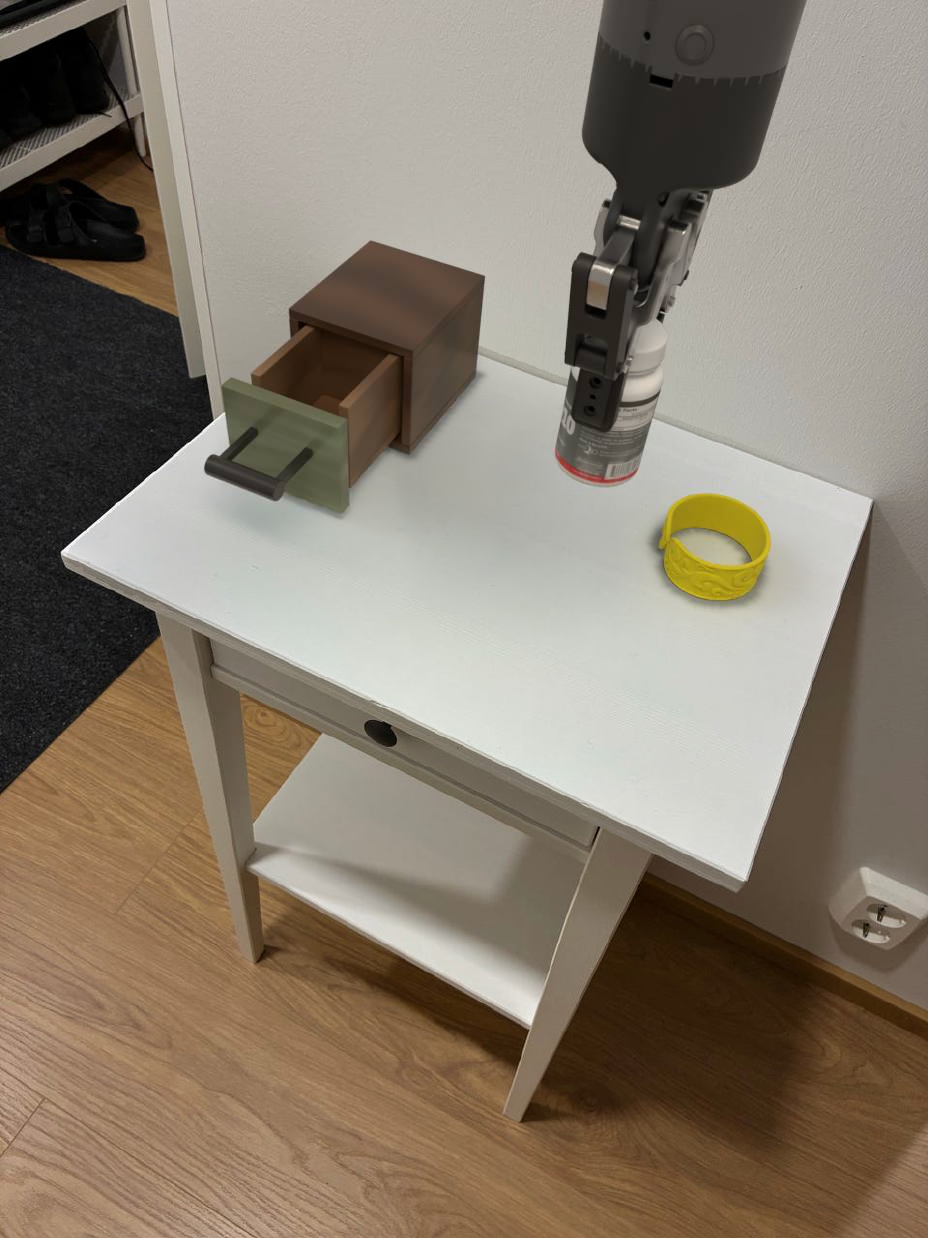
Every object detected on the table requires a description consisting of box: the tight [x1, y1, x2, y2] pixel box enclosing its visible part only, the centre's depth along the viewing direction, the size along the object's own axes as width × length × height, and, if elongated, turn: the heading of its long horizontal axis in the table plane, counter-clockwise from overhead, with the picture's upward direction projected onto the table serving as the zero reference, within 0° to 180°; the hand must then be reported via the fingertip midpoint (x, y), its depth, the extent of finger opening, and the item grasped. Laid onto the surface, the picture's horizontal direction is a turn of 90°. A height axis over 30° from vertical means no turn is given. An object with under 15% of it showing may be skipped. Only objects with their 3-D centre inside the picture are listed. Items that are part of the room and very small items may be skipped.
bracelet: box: [658, 492, 772, 601], centre depth 70 cm, size 7×8×3 cm
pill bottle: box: [554, 318, 669, 488], centre depth 50 cm, size 5×5×8 cm
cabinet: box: [288, 240, 486, 455], centre depth 79 cm, size 13×11×10 cm
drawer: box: [203, 324, 404, 515], centre depth 71 cm, size 17×9×8 cm, turn 154°
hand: (610, 396), depth 50 cm, fingers closed on pill bottle, 4 cm apart
